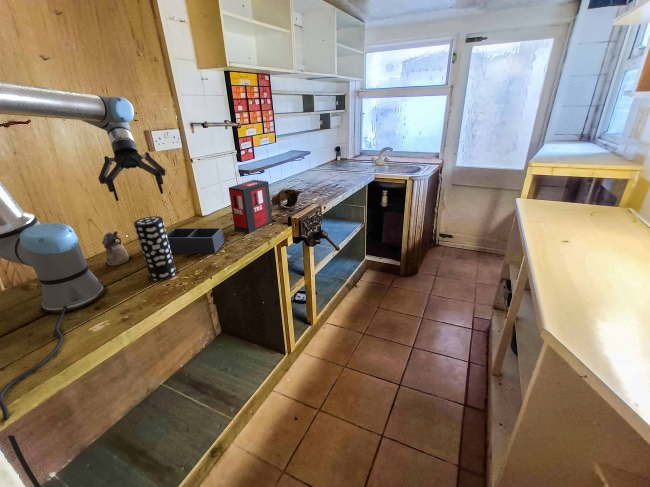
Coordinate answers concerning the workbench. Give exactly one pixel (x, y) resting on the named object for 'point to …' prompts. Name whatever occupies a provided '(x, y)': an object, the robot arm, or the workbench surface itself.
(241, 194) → the cleaning product box
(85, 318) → the workbench surface
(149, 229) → the spotted tube
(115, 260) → the figurine
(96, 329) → the workbench surface
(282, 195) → the pot
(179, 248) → the tray
